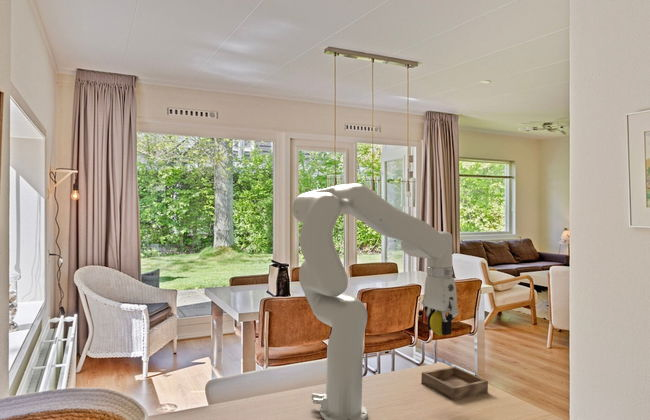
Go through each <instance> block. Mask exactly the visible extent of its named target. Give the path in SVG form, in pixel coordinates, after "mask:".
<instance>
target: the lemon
mask: <svg viewBox="0 0 650 420" xmlns="http://www.w3.org/2000/svg"><path fill="white" fill-rule="evenodd" d="M443 321H444V320H443V316H442V312H441V311H438V310H437V311H436V312H434V313H433V314H432V316H431V318H430V327H431V329H432V330H431V331H432V333H434V334H436V336H438V337H441V336H443V335H442V322H443Z"/></svg>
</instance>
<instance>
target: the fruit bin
mask: <svg viewBox="0 0 650 420" xmlns="http://www.w3.org/2000/svg"><path fill="white" fill-rule="evenodd" d="M420 382H421V384H422V385H424V386H426V387H427V388H428V389H431V390H433V391H434V392H436V393H438V394H440V395H442V396H444V397H445V398H447V399H449V400H451V401H459V400H461V399H466V398H470V397H476V396H479V395H483V394H487V393H489V391H488V390H489V388H488V387H489V380H486V379H484V378H482V377H480V376H477V375H476V374H473V373H470V372H468V371H467V370H464V369H463V368H460V367H457V366H449V367H444V368H443V367H442V368H439V369H433V370H427V371H422V372H421V381H420Z"/></svg>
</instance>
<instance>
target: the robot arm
mask: <svg viewBox="0 0 650 420" xmlns="http://www.w3.org/2000/svg"><path fill="white" fill-rule="evenodd" d="M291 209H292V210H291V211H292V215H293V216H294V218H295V219H296V220H297V221H298V222H300V223H301V224H302V226H301V229H300V234H299V246H300V251H301V253H302V256H303V259H304V261H303V262H302V264H301V265H300V267H299V269H298V270H299V271H298V280H299V283H300V284H299V285H300V286H301V289H302V291H303V293H304V295H305V297H306V300H307V302H308V305H309V306H310V308H311V311H312V313H313V315H314V316H315V317H316V319H317V320H318V321H320V322H321V323H323V324H325V325H328V326H329V327H331V331H330V332H331V333H330V335H329V338H328V340H327V348H326V349H327V351H326V384H325V385H326V386H325V387H326V390H325V391H326V392H324V393H321V394H320V393H319V392H318V393H317V392H312V394H311V401H312V403H313V404H315V405H320V408H319V415H320V417H321V418H322V419H323V420H366V419H367V418H368V410H367V408H366V407H365V406H364V405H363V403H362V402H363V372H364V371H363V367H364V365H363V362H364V361H363V360H364V338H365V332H366V327H367V324H368V323H367V322H368V310H367V308H366V305H365V304H364V303H363V302H362V300H360V299H359V298H357V297H355V296H353V295H349V294H347V293H345V292H346V290H347V289H348V286H349V277H348V274H347V271H346V269H345V267H344V264H343V262H342V260H341V258H340V256H339V253H338V251H337V248H336V245H335V243H334V242H335V241H334V239H333V237H334V236H333V234H334V229H335V226H336V223H337V221H338V219H339V217H340V216H341V215H351V216H353V217H355V218H356V219H357V220H359V221H360V222H361V223H364V225H366V226H368V227H370V229H372V230H374V231H375V232H376V233H378V234H380V235H382V236H385V237H388V238H392V239H395V240H399V241H400V247H401V249H402V251H403V253H405V254H406V255H408V256H410V257H415V258H421V259H422V258H423V259H426V276H425V280H424V281H425V282H424V291H423V292H424V294H423V300H422V301H421V304H422V306H423V308H424V311H425V312H426V314H425V315H426V317H427V330H428V331H432V329H431V327H430V318H431V316H432V314H433V313H434V312H436V311H441V312H442V316H443V320H444V321H443V322H442V335H441V336H448V335H449V336H450V335H452V322H453V321H454V319H455V318H456V316H458V315H459V314H460V311H459V308H458V297H457V285H456V280H455V278H454V277H453V275H454V271H453V235H452V233H450V232H448V231H438V230H437V229H436V228H434V227H433V226H431V225H430V224H429V223H427V222H426V221H424V220H422V219H419V218H417V217H415V216H413V215H411V214H409V213H407V212H404V211H402V210H400V209H399V208H396V207H395V206H393V205H392V204H390V203H389V202H388V201H386V200H385V199H384V198H383V197H381V196H380V195H379V194H377V193H376V192H374V191H373V190H372V189H370V188H369V187H367V185H364V184H362V183H345V184H338V185H337V184H336V185H335V186H334V185H333V186H330V187H326V188H321V189H316V190H312V191H311V190H310V191H307V192H302V193H300V194H299V195H298V196H297V197H295V199H294V200H293V203H292V208H291Z"/></svg>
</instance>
